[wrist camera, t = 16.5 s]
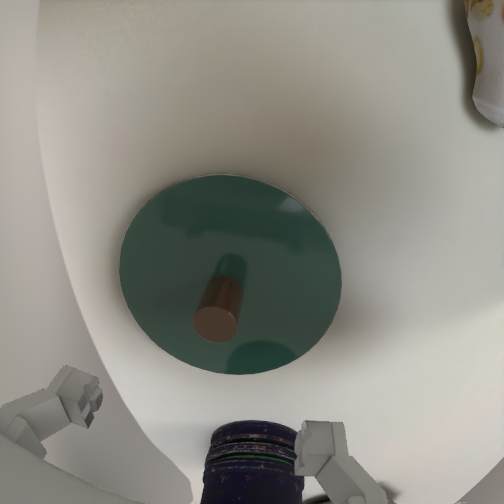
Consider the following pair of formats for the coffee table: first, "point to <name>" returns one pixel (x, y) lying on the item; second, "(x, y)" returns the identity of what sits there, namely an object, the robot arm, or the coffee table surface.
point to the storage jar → (252, 465)
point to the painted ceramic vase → (488, 56)
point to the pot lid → (230, 274)
